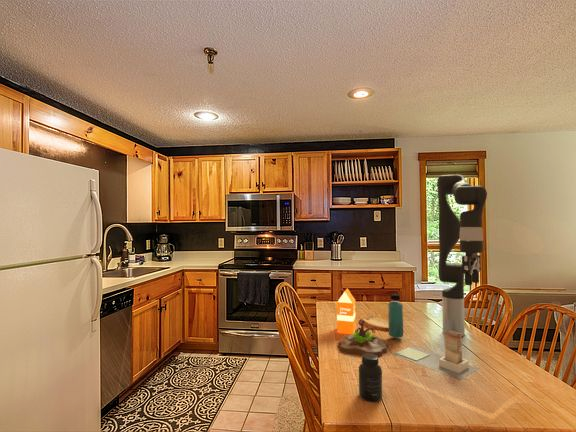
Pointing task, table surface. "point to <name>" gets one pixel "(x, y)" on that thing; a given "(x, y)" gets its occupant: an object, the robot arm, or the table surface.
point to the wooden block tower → (453, 347)
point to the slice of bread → (375, 323)
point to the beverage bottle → (395, 317)
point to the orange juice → (346, 313)
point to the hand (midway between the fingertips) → (472, 283)
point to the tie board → (437, 362)
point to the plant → (362, 343)
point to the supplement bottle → (370, 378)
